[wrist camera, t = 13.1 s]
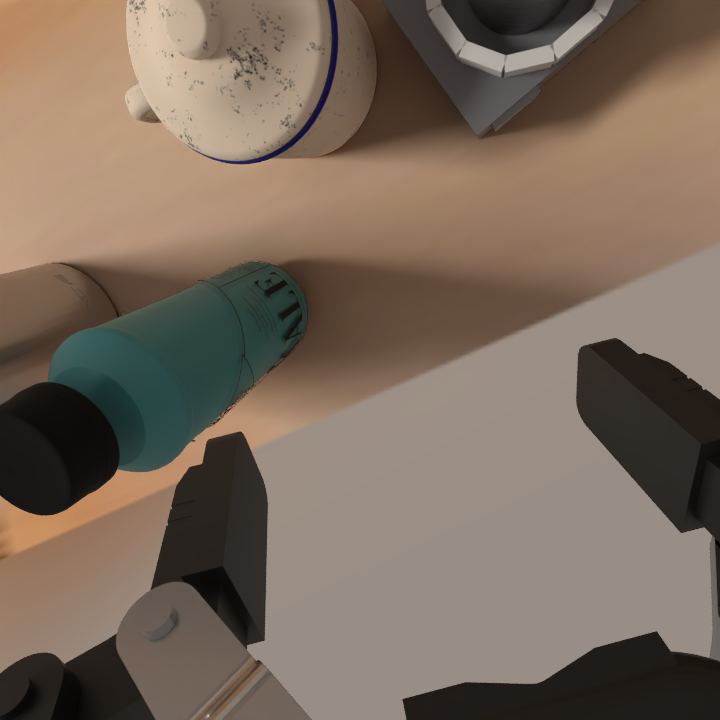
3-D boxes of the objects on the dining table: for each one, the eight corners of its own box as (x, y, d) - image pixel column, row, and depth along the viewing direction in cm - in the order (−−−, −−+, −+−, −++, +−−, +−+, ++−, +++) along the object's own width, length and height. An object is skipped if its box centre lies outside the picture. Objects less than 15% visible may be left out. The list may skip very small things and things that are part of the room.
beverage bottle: (214, 303, 34) (-96, 463, 16) (265, 231, 31) (-45, 328, 13) (284, 365, 35) (57, 587, 17) (340, 300, 32) (139, 483, 14)
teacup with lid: (356, -57, 24) (252, -218, 14) (401, 134, 27) (342, 119, 17) (165, 36, 28) (-27, -36, 18) (221, 195, 31) (83, 213, 21)
